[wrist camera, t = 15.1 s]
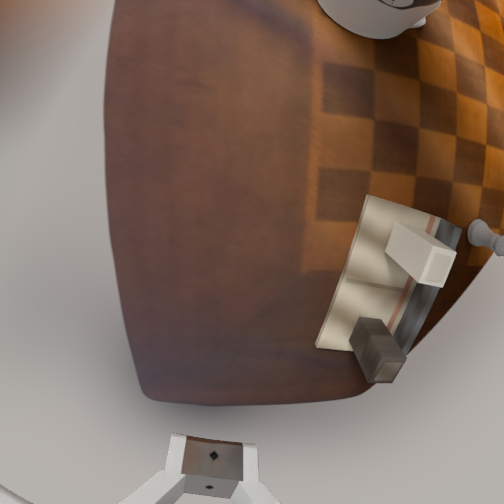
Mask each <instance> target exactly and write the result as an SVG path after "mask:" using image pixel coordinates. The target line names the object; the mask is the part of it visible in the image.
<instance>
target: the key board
mask: <svg viewBox="0 0 504 504" xmlns="http://www.w3.org/2000/svg"><path fill="white" fill-rule="evenodd" d="M395 221H398V222H401V223H404V224H408V225H411V226H414V227H418V228H419V229H421V230H422V231H424V232H426V233H427V234H429V235H431V236H432V237H434V238H435V239H437V240H438V241H440V242H442V243H443V244H445V245H446V246H448V247H449V248H451V249H452V250H454V251H455V249H456V246H457V243H458V241H459V238H460V235H461V232H462V229H461V228H460V227H458V226H456V225H454V224H452V223H450V222H448V221H446V220H444V219H442V218H439V217H436V216H433V215H431V214H428V213H425V212H422V211H419V210H416V209H413V208H410V207H407V206H404V205H401V204H398V203H395V202H392V201H389V200H385V199H382V198H379V197H376V196H372V195H369V194H367V195H366V198H365V202H364V205H363V209H362V212H361V215H360V219H359V222H358V225H357V229H356V232H355V235H354V238H353V241H352V244H351V247H350V250H349V253H348V256H347V259H346V262H345V265H344V268H343V271H342V274H341V277H340V280H339V283H338V285H337V288H336V291H335V294H334V296H333V299H332V302H331V304H330V307H329V310H328V312H327V315H326V317H325V320H324V323H323V325H322V328H321V330H320V333H319V335H318V338H317V340H316V343H315V345H316V348H325V349H335V350H346V351H353V349H352V346H351V344H350V342H349V339H350V336H351V334H352V332H353V330H354V328H355V325H356V323H357V321H358V318H359V316H360V317H368V318H376V319H381V320H382V321H383V323H384V324H385V326H386V327H387V329H388V330H389V332H390V333H391V335H392V336H393V338H394V339H395V341H396V342H397V344H398V345H399V347H400V348H401V350H402V352H403V353H404V355H405V356H406V355H407V353H408V351H409V349H410V348H411V346H412V344H413V342H414V340H415V338H416V336H417V335H418V333H419V331H420V329H421V327H422V325H423V323H424V321H425V319H426V317H427V315H428V313H429V311H430V309H431V306H432V304H433V302H434V300H435V298H436V296H437V293H438V291H439V289H440V287H437V286H432V285H427V284H422V283H418V282H417V281H416V280H415V279H414V278H413V277H412V276H411V275H410V274H409V273H408V272H407V271H406V270H404V269H403V268H402V267H401V266H400V265H399V264H398V263H397V262H396V261H395V260H394V259H393V258H391V257H390V256H389V255H388V254H387V253H386V252H385V250H386V247H387V244H388V241H389V238H390V235H391V232H392V229H393V226H394V223H395Z"/></svg>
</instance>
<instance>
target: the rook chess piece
mask: <svg viewBox="0 0 504 504" xmlns="http://www.w3.org/2000/svg"><path fill="white" fill-rule="evenodd" d="M467 236H468V241H469V242H470V244H472V245H475V246H478V247H479V246H487V247H489V248H490V249H491V250H492V251H495V253H496V255H497V256H504V235H503V236H500V235H499V234H495V233H494V232H492V231H491V230H490V228H489V227H488V225H487V224H486V222H484V221H482V220H481V219H476V220H474V221H473V222H472V223H471V224H470V225H469V228H468V231H467Z"/></svg>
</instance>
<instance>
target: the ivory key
mask: <svg viewBox="0 0 504 504" xmlns="http://www.w3.org/2000/svg"><path fill="white" fill-rule="evenodd" d="M385 252H386V253H387V254H388V255H389V256H390V257H391V258H393V259H394V260H395V261H396V262H397V263H398V264H399V265H400V266H401V267H402V268H403V269H404V270H406V271H407V272H408V273H409V274H410V275H411V276H412V277H413V278H414V279H415V280H416V281H417V282H418V283H422V284H427V285H432V286H437V287H442V288H443V286H444V283H445V281H446V279H447V276H448V274H449V271H450V269H451V267H452V264H453V261H454V259H455V256H456V254H457V252H455V251H454V250H452V249H451V248H449V247H448V246H446V245H445V244H443V243H442V242H440V241H438V240H437V239H435V238H434V237H432V236H431V235H429V234H427V233H426V232H424V231H422V230H421V229H419V228H418V227H414V226H411V225H408V224H404V223H401V222H398V221H395V223H394V226H393V229H392V232H391V235H390V238H389V241H388V244H387V247H386V250H385Z"/></svg>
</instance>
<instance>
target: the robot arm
mask: <svg viewBox="0 0 504 504" xmlns="http://www.w3.org/2000/svg"><path fill="white" fill-rule="evenodd" d="M317 1H318V3H319V4H320V6H321V7H322V8H323V10H324V11H325V12H326V13H327V14H328V15H329V16H330V17H331V18H332V19H333V20H334V21H335V22H337V23H338V24H339V25H341V26H342V27H344V28H346V29H347V30H349V31H351V32H353V33H356V34H358V35H361V36H364V37H368V38H373V39H388V38H392V37H395V36H397V35H399V34H401V33H402V32H403V31H405V30H406V29H409V28H419V27H421V26H423V25H424V24H425V22H426V19H425V17H426V16H427V15H428V14H430V13H431V12H432V11H434V10H435V9H436V8H437V7H439V6H440V4H441V0H317ZM186 438H187V439H186ZM183 493H190V494H198V495H206V496H213V497H220V498H229V499H230V501H231V502H232V504H281V503H280V502H279V501H278V500H277V499H276V497H275V496H274V495H273V494H272V493H271V491H270V490H269V489H268V488H267V487H266V486H265V484H264V483H261V482H259V464H258V448H257V445H256V444H247V443H238V442H227V441H220V440H211V439H205V438H198V437H193V436H187V435H183V434H177V433H172V436H171V441H170V446H169V452H168V457H167V462H166V467H165V470H160V471H158V472H157V473H156V474H155V475H154V476H153V477H151V478H150V479H149V480H148V481H147V482H146V483H144V484H143V485H142V486H141V487H139V488H138V489H137V490H136V491H134V492H133V493H132V494H131V495H129V496H128V497H127V498H125V499H124V500H123V501H122V502H120V503H119V504H174V503H175V502H176V501H177V500H178V499H179V498H180V497H181V496H182V495H183ZM0 504H33V503H31V502H29V501H27V500H25V499H24V498H22V497H20V496H18V495H17V494H15V493H13V492H12V491H10V490H8V489H7V488H5V487H3V486H2V485H0Z"/></svg>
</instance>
